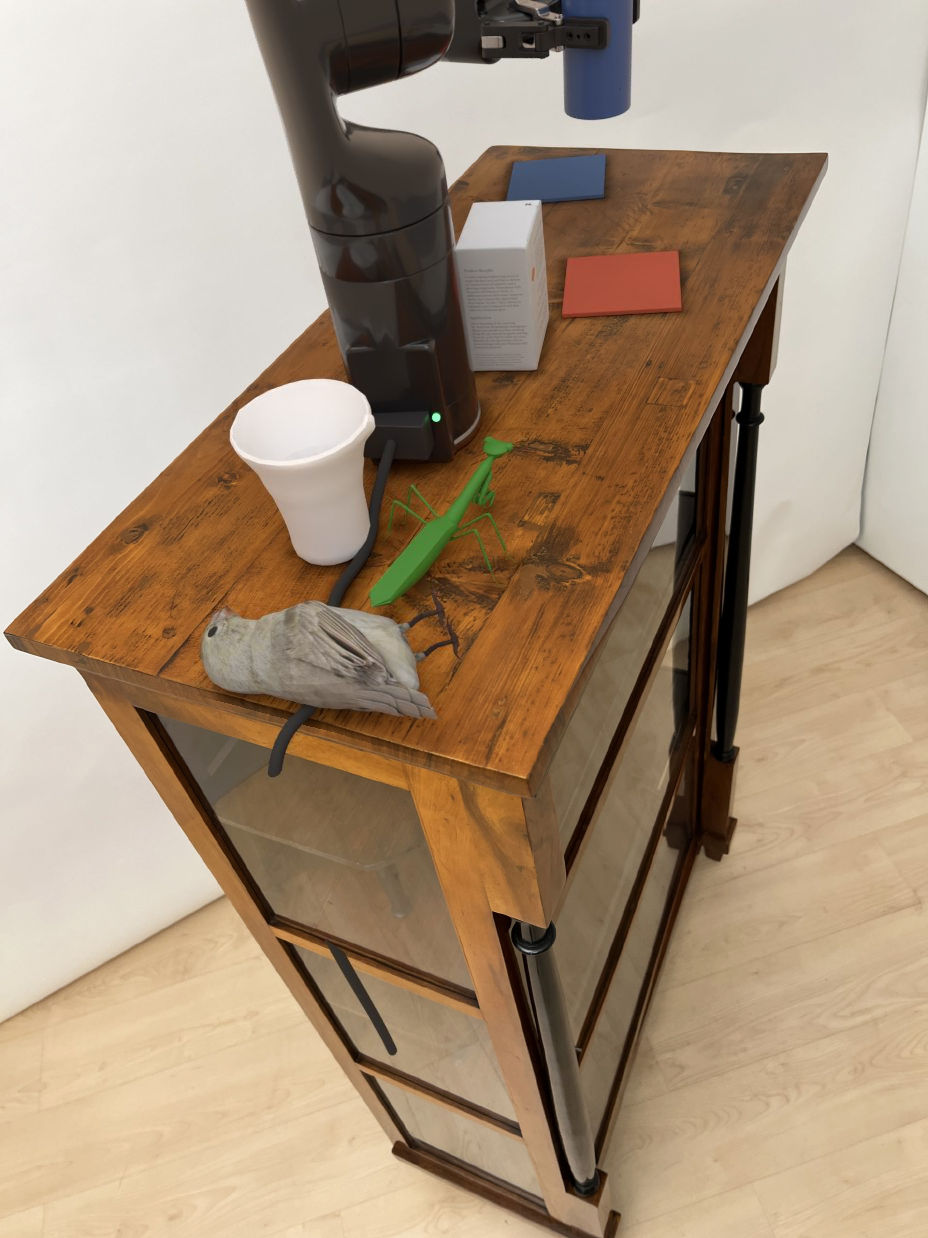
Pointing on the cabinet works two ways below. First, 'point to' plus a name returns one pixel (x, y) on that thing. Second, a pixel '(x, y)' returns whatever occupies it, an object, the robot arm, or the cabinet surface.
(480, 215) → the small box
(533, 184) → the blue mat
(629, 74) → the blue can
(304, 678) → the decorative bird
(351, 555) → the cup
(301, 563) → the cabinet surface
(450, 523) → the praying mantis
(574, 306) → the terracotta mat
